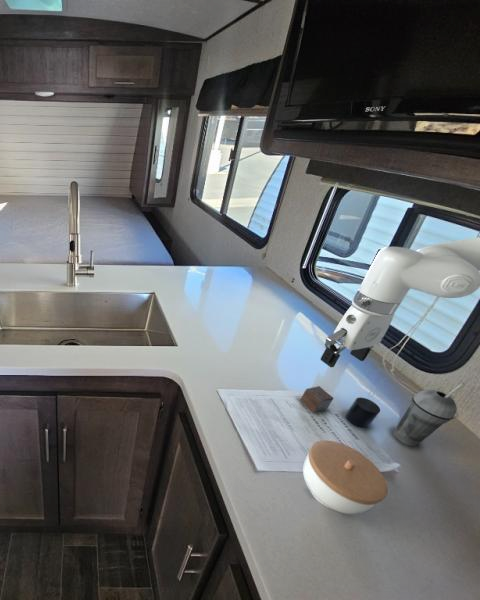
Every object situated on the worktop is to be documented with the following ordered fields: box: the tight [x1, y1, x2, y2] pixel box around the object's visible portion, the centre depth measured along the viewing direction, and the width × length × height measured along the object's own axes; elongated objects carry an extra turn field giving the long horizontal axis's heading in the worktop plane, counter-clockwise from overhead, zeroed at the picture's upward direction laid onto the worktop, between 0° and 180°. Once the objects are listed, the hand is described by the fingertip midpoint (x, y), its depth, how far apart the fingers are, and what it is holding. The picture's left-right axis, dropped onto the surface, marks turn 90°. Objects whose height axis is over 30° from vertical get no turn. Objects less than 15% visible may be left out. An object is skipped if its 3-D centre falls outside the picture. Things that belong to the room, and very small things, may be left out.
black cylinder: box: [345, 396, 381, 429], centre depth 83 cm, size 5×5×6 cm
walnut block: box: [299, 385, 334, 413], centre depth 88 cm, size 4×4×4 cm
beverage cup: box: [393, 382, 466, 447], centre depth 76 cm, size 7×7×20 cm
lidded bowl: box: [302, 439, 389, 515], centre depth 65 cm, size 13×13×11 cm
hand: (341, 360), depth 80 cm, fingers open, 9 cm apart
